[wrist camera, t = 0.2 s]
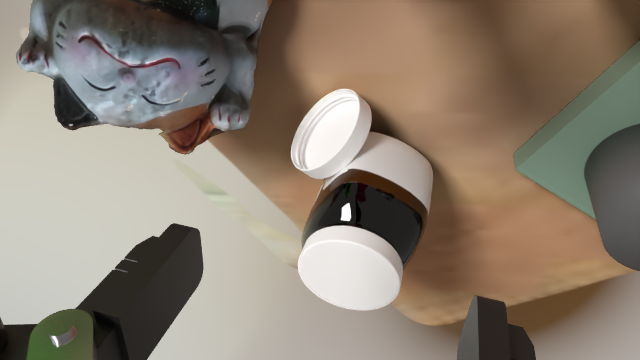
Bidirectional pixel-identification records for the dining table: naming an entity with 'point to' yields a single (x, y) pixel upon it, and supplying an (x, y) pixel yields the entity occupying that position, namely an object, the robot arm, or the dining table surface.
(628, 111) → the desk organizer tray
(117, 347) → the robot arm
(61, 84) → the lucky cat figurine
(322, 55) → the dining table surface
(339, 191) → the spread jar
